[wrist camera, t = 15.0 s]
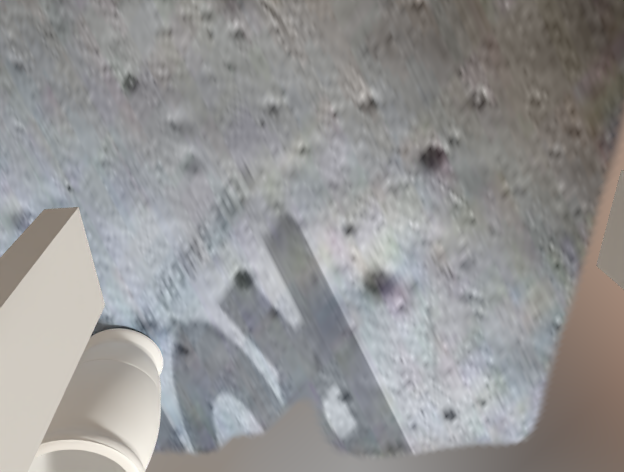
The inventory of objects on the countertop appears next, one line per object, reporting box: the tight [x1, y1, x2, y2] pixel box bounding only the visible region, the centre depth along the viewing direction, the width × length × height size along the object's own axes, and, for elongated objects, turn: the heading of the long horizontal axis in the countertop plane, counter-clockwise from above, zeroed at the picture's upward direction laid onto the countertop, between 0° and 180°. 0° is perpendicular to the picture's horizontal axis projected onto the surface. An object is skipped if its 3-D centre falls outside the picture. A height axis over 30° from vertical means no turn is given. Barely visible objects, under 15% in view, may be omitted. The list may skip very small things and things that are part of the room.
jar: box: [28, 328, 163, 472], centre depth 46 cm, size 11×10×15 cm
